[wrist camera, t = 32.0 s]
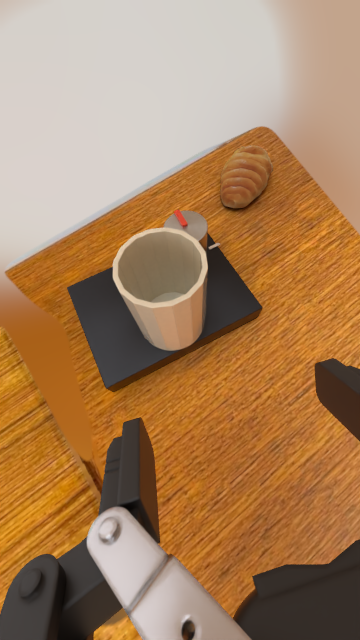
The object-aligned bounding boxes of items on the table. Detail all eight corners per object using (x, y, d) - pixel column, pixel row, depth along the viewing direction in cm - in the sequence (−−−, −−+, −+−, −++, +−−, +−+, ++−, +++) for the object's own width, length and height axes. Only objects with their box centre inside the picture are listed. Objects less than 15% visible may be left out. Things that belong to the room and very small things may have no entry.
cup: (185, 282, 30) (180, 215, 21) (216, 332, 27) (225, 279, 18) (131, 308, 29) (99, 250, 20) (157, 362, 26) (135, 324, 17)
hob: (201, 234, 35) (201, 219, 33) (260, 316, 30) (265, 305, 28) (74, 292, 33) (64, 281, 31) (113, 392, 28) (105, 388, 25)
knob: (212, 265, 30) (215, 232, 25) (178, 280, 30) (173, 249, 25) (196, 238, 32) (195, 202, 27) (163, 252, 32) (156, 217, 27)
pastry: (255, 217, 36) (261, 194, 32) (208, 206, 37) (209, 183, 34) (272, 171, 39) (279, 146, 36) (228, 163, 41) (231, 137, 37)
